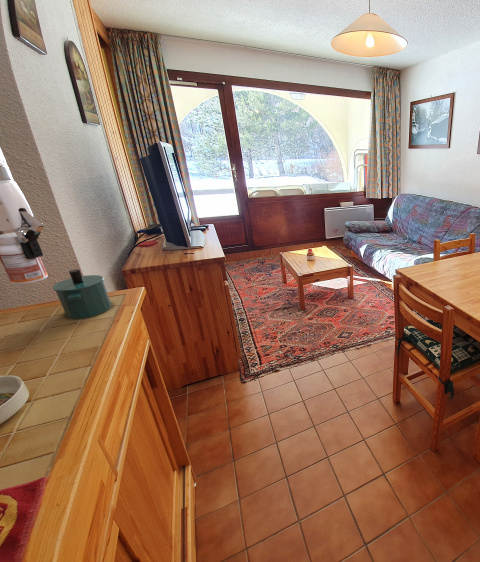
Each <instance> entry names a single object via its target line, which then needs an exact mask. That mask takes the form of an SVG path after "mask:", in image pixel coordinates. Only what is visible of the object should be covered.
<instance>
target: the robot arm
mask: <svg viewBox="0 0 480 562" xmlns="http://www.w3.org/2000/svg"><path fill="white" fill-rule="evenodd" d="M44 227H45V226H44V224H43V223H42V222H41V221H39V220H38V219H37V218H35V216H34V214H33V211H32V208H31V207H30V204H29V203H28V201H27V199H26V197H25V195H24V193H23V192H22V190H21V189H20V187H19V186H18V184H17V182H16V181H15V180H14V177H13V175H12V173H11V171H10V168H9V165H8V163H7V160H6V158H5V156H4V153H3V151H2V149H1V147H0V235H2V234H4V232H13V233H15V234H16V235H17V236H18V237H19V238H20V239H21V241H22V242H21V243H20V245H21V247H22V250H23V252H24V254H25V257H26V258H27V259H34V258H37V257H40V258H41V257H43V256H44V253H43V251H42V248H41V246H40V243H39V241H38V240H39V239H40V237H39V236H40V235H41V233H42V232H41V231H42V230H43V229H44ZM24 231H25V232H26V233H25V232H24ZM24 233H25V234H26V235H25V234H24Z"/></svg>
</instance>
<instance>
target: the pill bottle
mask: <svg viewBox="0 0 480 562" xmlns="http://www.w3.org/2000/svg"><path fill="white" fill-rule="evenodd" d="M23 233H24V234H25V235H26V233H25V232H23ZM21 242H22V241H21V239H20V238H19V237H18V236H17V235H16V234H15V232H9V233H3V234H2V235H0V263H1V265H2V267H3V269H4V271H5V273H6V275H7V278H8V279H9V282H10V283H11V284H13V285H15V286H23V285H31V284H35V283H39V282H43V281H44V280H46V279H47V278H48V276H49V275H48V272H47V270H46V268H45V267H46V266H45V265H44V262H43V260H42V258H41V256H40V257H37V258H34V259H27V258H26V257H25V254H24V252H23V250H22V247H21V245H20V243H21Z"/></svg>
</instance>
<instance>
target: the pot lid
mask: <svg viewBox="0 0 480 562" xmlns="http://www.w3.org/2000/svg"><path fill="white" fill-rule="evenodd" d="M68 274H69V277H70V278H67V279H64V280H61V281H59V282H57V283H55V284H54V285H52V290H53V291H54V292H56V291H57V292H70V291H77V290H82V289H86V288H90V287H93V286H95V285H98V284H100V283H101V282H103V283H104V280H105V279H104V277H103V276H102V275H98V274H89V275H82V273H81V269H78V268H75V269H71V270H68Z"/></svg>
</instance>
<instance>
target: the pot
mask: <svg viewBox="0 0 480 562" xmlns="http://www.w3.org/2000/svg"><path fill="white" fill-rule="evenodd" d="M55 293H56V295H57V298H58V299H59V302H60V305H61V307H62V309H63V311H64V313H65V315H66V317H67V318H68V319H70V320H72V319H73V320H80V319H86V318H92V317H95V316H98V315H100V314H103V313H105V312H107V311H108V310H110V309H111V308H112V302H111V299H110V297H109V294H108V291H107V288H106V285H105V282H104V281H103V282H101V283H100V284H98V285H95V286H93V287H90V288H86V289H82V290H77V291H70V292H57V291H55Z"/></svg>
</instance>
